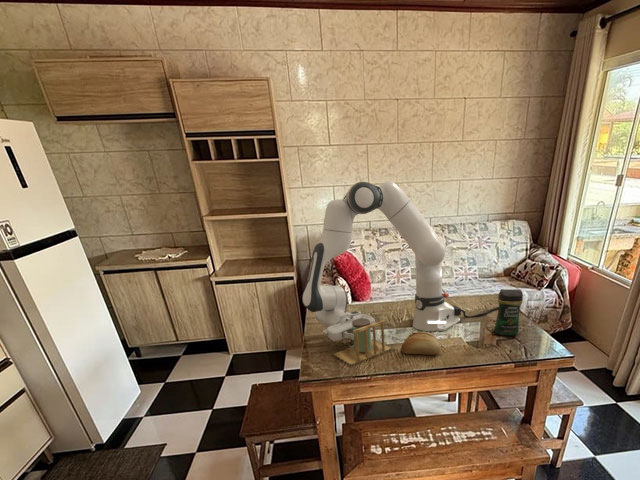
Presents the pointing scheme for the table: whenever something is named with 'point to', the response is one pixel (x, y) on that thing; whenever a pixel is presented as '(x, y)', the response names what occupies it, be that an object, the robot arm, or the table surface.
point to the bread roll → (421, 344)
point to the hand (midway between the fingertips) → (363, 333)
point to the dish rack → (377, 347)
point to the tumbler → (362, 334)
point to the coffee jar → (508, 312)
